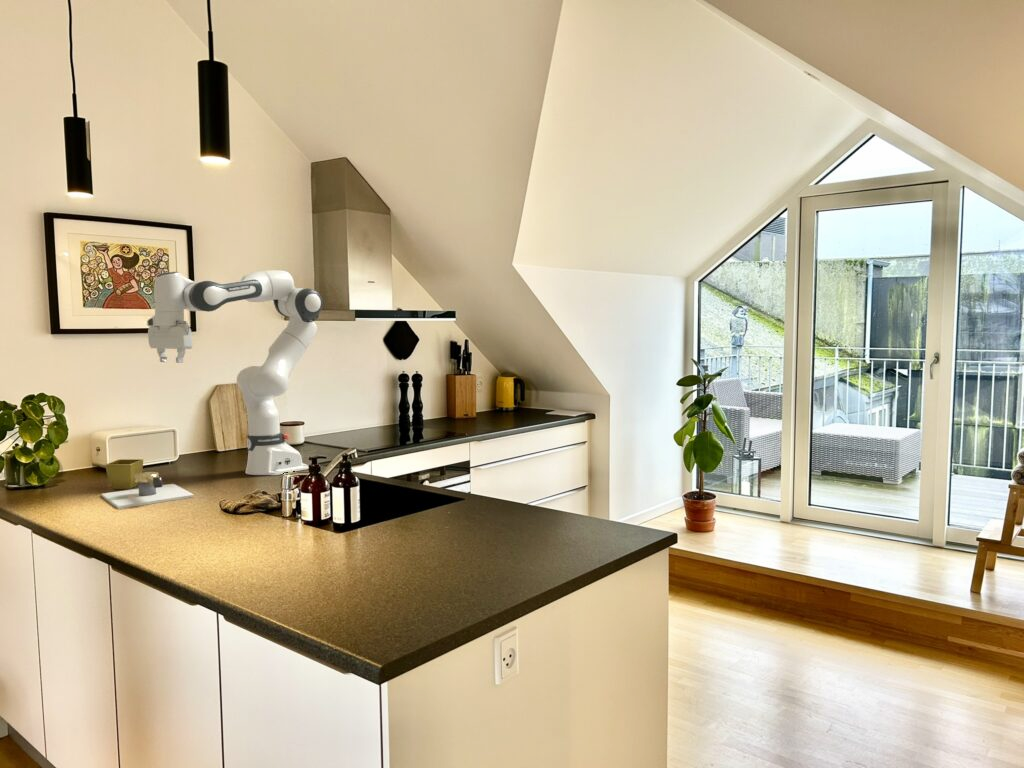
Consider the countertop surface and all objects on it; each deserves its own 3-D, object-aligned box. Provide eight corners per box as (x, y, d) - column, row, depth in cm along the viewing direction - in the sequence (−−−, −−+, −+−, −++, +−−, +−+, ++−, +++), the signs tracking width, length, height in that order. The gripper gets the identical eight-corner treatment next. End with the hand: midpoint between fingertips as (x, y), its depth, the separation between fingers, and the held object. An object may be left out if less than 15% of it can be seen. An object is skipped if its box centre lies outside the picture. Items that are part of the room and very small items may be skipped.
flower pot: (131, 490, 251) (130, 464, 250) (105, 491, 251) (104, 464, 251) (145, 485, 260) (143, 459, 259) (120, 485, 260) (118, 459, 259)
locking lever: (132, 480, 242) (131, 471, 242) (155, 477, 247) (155, 468, 247) (146, 489, 229) (146, 480, 229) (171, 485, 234) (170, 476, 233)
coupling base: (173, 485, 258) (172, 471, 257) (194, 497, 241) (193, 481, 241) (101, 496, 244) (100, 480, 243) (118, 508, 227) (117, 492, 227)
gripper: (196, 320, 248) (198, 362, 250) (161, 321, 260) (163, 361, 261) (179, 320, 243) (180, 363, 244) (143, 321, 255) (145, 362, 256)
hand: (171, 362), depth 253 cm, fingers open, 8 cm apart
